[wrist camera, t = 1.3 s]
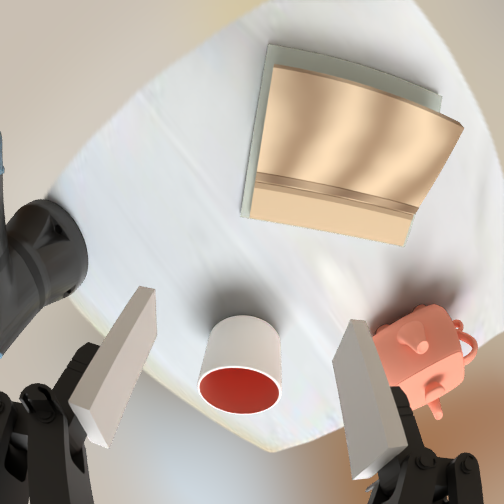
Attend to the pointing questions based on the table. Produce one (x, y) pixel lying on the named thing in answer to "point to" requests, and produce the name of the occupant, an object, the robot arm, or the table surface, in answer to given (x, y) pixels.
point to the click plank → (351, 140)
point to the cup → (241, 366)
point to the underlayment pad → (318, 204)
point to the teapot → (424, 355)
